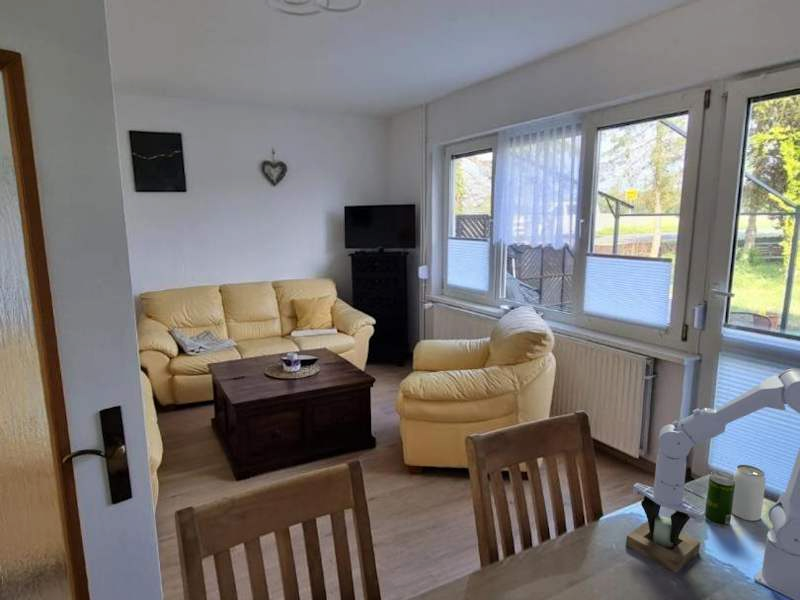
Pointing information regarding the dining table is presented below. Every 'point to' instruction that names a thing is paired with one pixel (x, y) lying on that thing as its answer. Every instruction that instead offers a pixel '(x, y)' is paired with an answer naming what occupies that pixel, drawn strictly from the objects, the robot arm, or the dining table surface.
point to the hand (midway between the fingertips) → (663, 535)
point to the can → (748, 492)
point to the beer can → (720, 498)
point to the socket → (670, 559)
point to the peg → (662, 531)
